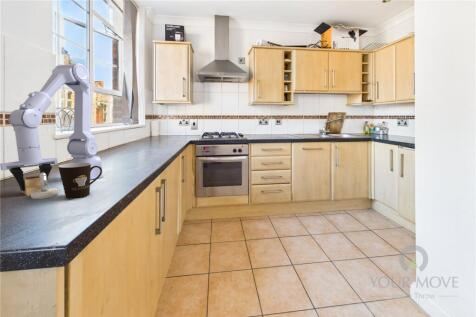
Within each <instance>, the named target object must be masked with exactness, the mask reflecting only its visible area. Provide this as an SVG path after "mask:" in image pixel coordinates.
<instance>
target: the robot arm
mask: <svg viewBox="0 0 476 317" xmlns="http://www.w3.org/2000/svg"><path fill="white" fill-rule="evenodd" d="M63 85H65V86H67V87H68V88H70V89H71V90H72V91H73V92H74V100H73V101H74V104H73V106H74V113H73V114H74V115H73V116H74V122H73V128H74V130H73V132H72V134H70V136H68V143H67V145H66V150H67V152H68V154H69V155H70V156H71V158H72V160H73V162H72V163H91V167H93V166H99V167H101V168H102V169H103V164H102V159H101V156H99V155H96V154H97V153H98V151H99V146H98V143H97V137H95V136H94V135H93V134H92V132H91V105H92V104H91V95H92V94H91V84H90V71H89V70H88V69H87V67H86V66H85V65H84V64H82V63H78V62H77V63H72V64H71V63H70V64H69V63H68V64H58V65H56V66H55V67H54V69H52V71H51V75H50V76H49V77H48V79H47V80H46V82H45V83H44V85H43V86H42V87H41V89H40V90H39V91H33V92H29V93H28V95H27V96H28V97H27V98H26V100H25V101H24V102H23V103H20V105H19V108H18V109H14V110H13V111H11V113H10V114H9V117H8V118H7V120H8V123H9V125H11V127H12V128H13V132H14V135H15V143H16V151H17V156H18V160H16V161H10V162H3V163H0V171H7V170H8V171H9V172H10V173H11V175H12V176H13V177H14V178H15V181H16V182H17V184H18V186H19V188H20V191H25V185H24V179H23V178H24V170H23V169H24V168H31V167H32V168H33V167H38V169H39V170H38V171H39V174H40V173H46V177H47V180H48V178H49V175H50V173H51V171H52V169H53V165H58V164H59V163H58V162H59V161H58V158H56V157H51V158H48V157H47V158H42V153H41V147H40V137H39V128H38V127H39V126H40V125H41V124H42V123H43V122H42V120H43V118H42V116H43V114H44V113H45V112H46V111H47V110H48V108H49V107H50V106H51V105H52V99H51V98H52V97H53V96H54V95H55V94H56V93H57V92H58V90H60V89H61V88H62V86H63ZM99 174H100V169H99V168H97V167H96V168H93V169H92V170H91V173H90V180H94V179H95V178H96V177H98V175H99ZM101 178H104V175H103V173H102V174H101V176H100V177H99V178H98V179H101Z"/></svg>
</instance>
